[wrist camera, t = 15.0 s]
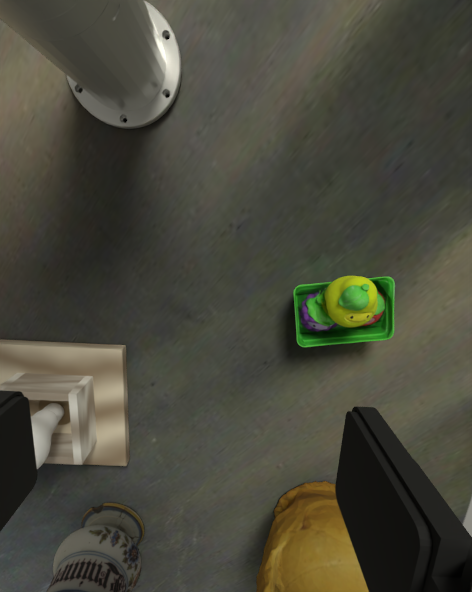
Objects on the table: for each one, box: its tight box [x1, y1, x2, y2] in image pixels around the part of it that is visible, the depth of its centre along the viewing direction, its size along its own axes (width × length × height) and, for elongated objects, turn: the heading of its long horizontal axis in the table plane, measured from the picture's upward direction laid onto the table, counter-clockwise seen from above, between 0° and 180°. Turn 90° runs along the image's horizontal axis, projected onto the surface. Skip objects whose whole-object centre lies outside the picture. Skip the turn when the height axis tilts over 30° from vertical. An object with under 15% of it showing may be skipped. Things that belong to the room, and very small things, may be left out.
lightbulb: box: [31, 403, 64, 469], centre depth 38 cm, size 6×6×11 cm
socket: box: [0, 339, 130, 466], centre depth 42 cm, size 18×18×6 cm
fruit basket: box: [293, 276, 395, 347], centre depth 36 cm, size 11×9×11 cm
